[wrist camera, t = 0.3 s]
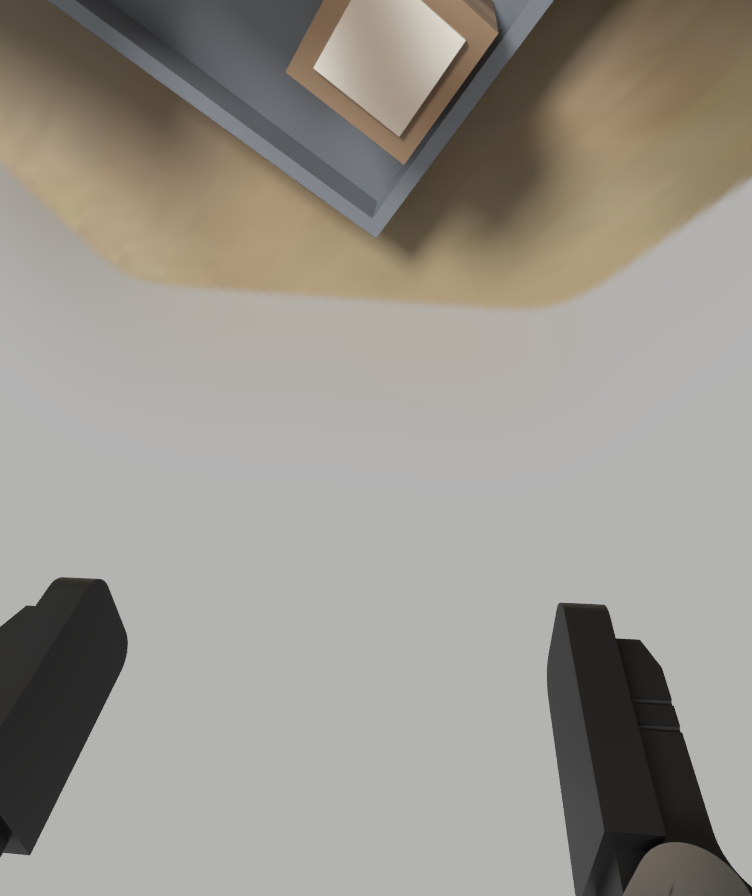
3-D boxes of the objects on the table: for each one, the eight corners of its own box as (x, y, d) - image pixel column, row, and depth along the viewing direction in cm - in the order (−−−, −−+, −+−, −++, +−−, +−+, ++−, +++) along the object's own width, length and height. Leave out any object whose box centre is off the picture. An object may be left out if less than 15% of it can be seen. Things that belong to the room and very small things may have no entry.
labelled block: (390, -94, 21) (367, -86, 17) (493, 2, 23) (498, 34, 18) (319, 35, 24) (284, 73, 19) (416, 113, 25) (403, 167, 21)
